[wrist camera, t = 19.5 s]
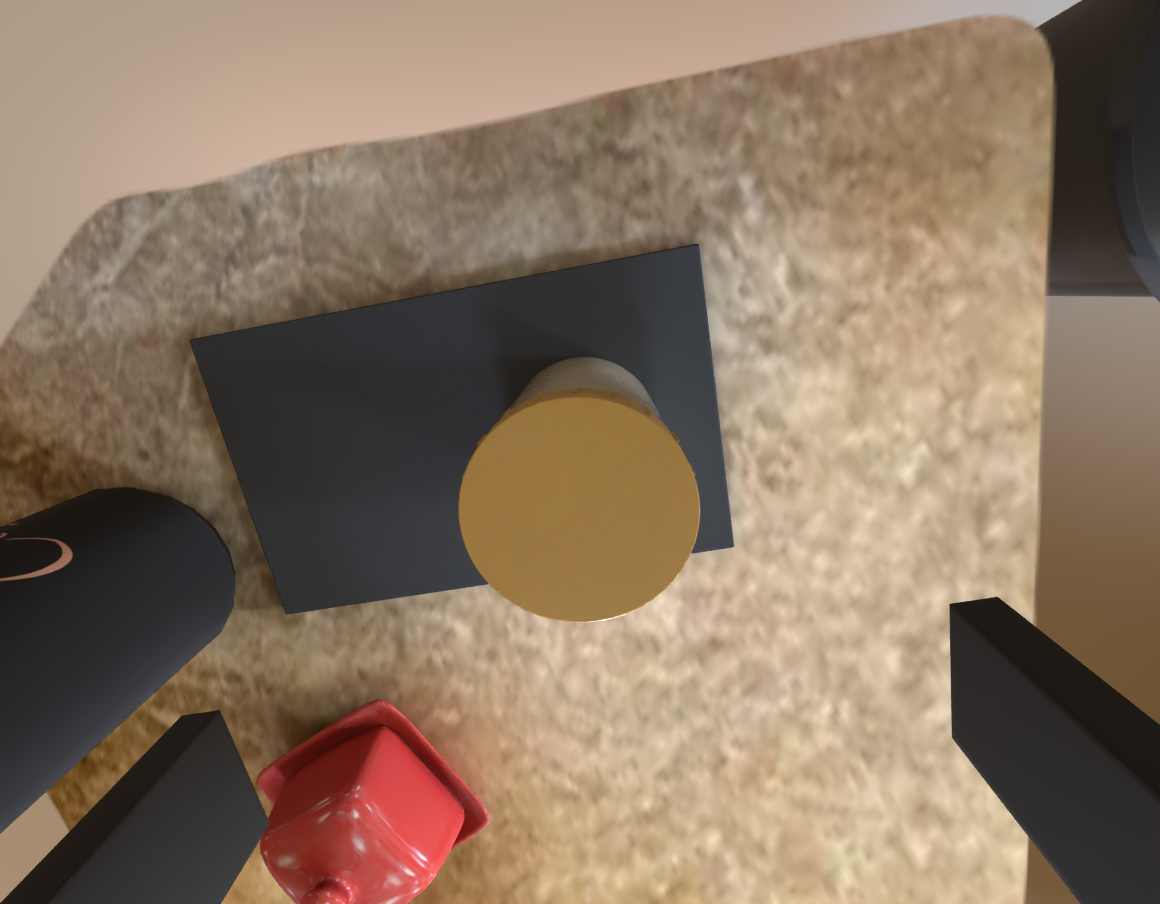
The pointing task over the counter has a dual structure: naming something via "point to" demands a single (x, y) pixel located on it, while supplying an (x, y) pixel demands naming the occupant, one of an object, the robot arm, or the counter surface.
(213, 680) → the counter surface
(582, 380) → the cream-colored jar
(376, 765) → the butter dish
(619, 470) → the lid
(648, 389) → the mat
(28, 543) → the coffee jar
